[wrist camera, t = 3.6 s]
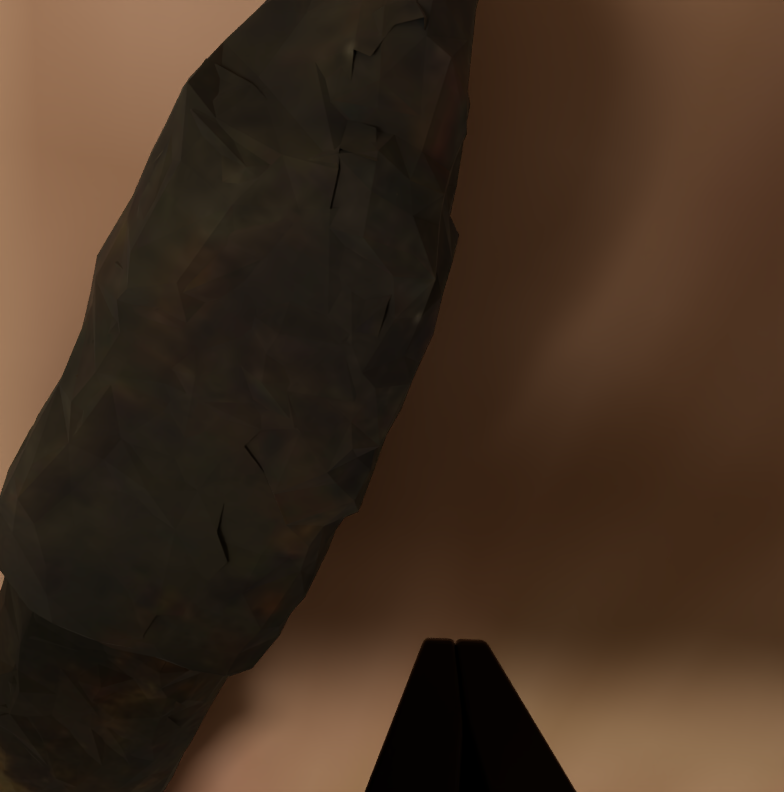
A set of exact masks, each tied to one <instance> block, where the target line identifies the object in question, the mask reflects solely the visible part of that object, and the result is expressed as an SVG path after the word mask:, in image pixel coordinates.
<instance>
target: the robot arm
mask: <svg viewBox="0 0 784 792" xmlns="http://www.w3.org/2000/svg"><path fill="white" fill-rule="evenodd" d="M365 792H576V790H575V789H574V787H573V785H572V784H571V782H570V780H569V779H568V777H567V775H566V774H565V772H564V770H563V769H562V767H561V765H560V764H559V762H558V760H557V759H556V757H555V755H554V754H553V752H552V750H551V749H550V747H549V745H548V744H547V742H546V740H545V739H544V737H543V735H542V734H541V732H540V730H539V729H538V727H537V725H536V724H535V722H534V720H533V719H532V717H531V715H530V714H529V712H528V710H527V709H526V707H525V705H524V703H523V702H522V700H521V698H520V697H519V695H518V693H517V692H516V690H515V688H514V687H513V685H512V683H511V682H510V680H509V678H508V677H507V675H506V673H505V672H504V670H503V668H502V667H501V665H500V663H499V662H498V660H497V658H496V657H495V655H494V653H493V652H492V650H491V648H490V647H489V645H488V644H487V643H486V642H485V641H483V640H471V639H459V640H457V641H456V642H455V643H454V641H453V640H451V639H446V638H427V639H425V640H424V641H423V643H422V646H421V648H420V651H419V653H418V656H417V658H416V661H415V664H414V666H413V669H412V671H411V674H410V676H409V679H408V682H407V684H406V687H405V689H404V692H403V694H402V697H401V700H400V702H399V705H398V707H397V710H396V713H395V715H394V718H393V720H392V723H391V725H390V728H389V731H388V733H387V736H386V738H385V741H384V743H383V746H382V749H381V751H380V754H379V756H378V759H377V761H376V764H375V767H374V769H373V772H372V774H371V777H370V779H369V782H368V785H367V787H366V790H365Z"/></svg>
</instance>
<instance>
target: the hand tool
mask: <svg viewBox="0 0 784 792" xmlns="http://www.w3.org/2000/svg"><path fill="white" fill-rule="evenodd" d="M477 3H478V0H266V1H265V3H264V4H263V5H262V6H261V7H260V8H259V9H257V10H256V11H255V12H254V13H253V14H252V15H251V16H250V17H249V18H248V19H247V20H246V21H245V22H244V23H243V24H242V25H241V26H240V27H238V28H237V29H236V30H235V31H234V32H233V33H232V34H231V35H230V36H229V37H228V38H227V39H226V40H225V41H224V42H223V43H222V44H221V45H220V46H219V47H218V48H217V49H216V50H215V51H214V52H213V53H212V54H211V55H210V56H209V58H208V59H205V61H204V62H203V63H202V65H201V66H200V67H199V68H198V69H197V70H196V71H195V72H194V73H193V74H192V75H191V76H190V78H189V79H188V81H187V82H186V84H185V85H184V86H183V88H182V90H181V93H180V95H179V97H178V99H177V101H176V103H175V105H174V107H173V110H172V112H171V114H170V116H169V118H168V120H167V122H166V124H165V126H164V128H163V130H162V132H161V134H160V136H159V138H158V140H157V142H156V144H155V146H154V148H153V150H152V152H151V154H150V156H149V159H148V161H147V163H146V166H145V168H144V171H143V173H142V175H141V178H140V180H139V182H138V185H137V187H136V189H135V192H134V194H133V196H132V198H131V200H130V201H129V203H128V205H127V206H126V208H125V210H124V211H123V213H122V215H121V216H120V218H119V220H118V221H117V223H116V225H115V226H114V228H113V230H112V232H111V233H110V235H109V237H108V238H107V240H106V242H105V243H104V245H103V247H102V248H101V250H100V252H99V253H98V255H97V260H96V265H95V271H94V276H93V282H92V287H91V292H90V297H89V301H88V305H87V310H86V314H85V318H84V323H83V327H82V330H81V332H80V334H79V337H78V339H77V342H76V344H75V346H74V349H73V351H72V354H71V356H70V358H69V361H68V363H67V366H66V368H65V370H64V373H63V375H62V377H61V379H60V381H59V382H58V384H57V385H56V387H55V389H54V390H53V392H52V393H51V395H50V397H49V398H48V400H47V401H46V403H45V405H44V406H43V408H42V409H41V411H40V413H39V414H38V416H37V418H36V421H35V423H34V425H33V426H32V428H31V429H30V431H29V433H28V435H27V436H26V438H25V440H24V442H23V444H22V446H21V447H20V449H19V451H18V453H17V455H16V457H15V459H14V460H13V462H12V464H11V466H10V468H9V470H8V472H7V476H6V479H5V482H4V485H3V488H2V491H1V495H0V571H1V572H2V573H3V575H4V576H5V577H4V581H3V585H2V588H1V591H0V792H163V791H164V790H165V788H166V787H167V785H168V783H169V782H170V780H171V778H172V777H173V775H174V773H175V771H176V768H177V766H178V764H179V762H180V760H181V758H182V755H183V753H184V752H185V750H186V749H187V747H188V746H189V744H190V743H191V741H192V739H193V737H194V735H195V733H196V732H197V730H198V728H199V726H200V724H201V722H202V720H203V718H204V716H205V715H206V713H207V711H208V709H209V707H210V706H211V704H212V702H213V701H214V699H215V697H216V696H217V694H218V692H219V691H220V689H221V687H222V686H223V684H224V682H225V681H226V679H227V678H228V676H231V675H234V674H237V673H240V672H243V671H246V670H249V669H252V668H253V667H254V665H255V664H256V663H257V662H258V661H259V659H260V658H261V657H262V656H263V654H264V653H265V652H266V651H267V650H268V648H269V647H270V646H271V645H272V644H273V642H274V641H275V640H276V639H277V638H278V636H279V635H280V633H281V631H282V629H283V627H284V625H285V623H286V621H287V619H288V617H289V615H290V613H291V612H292V611H293V610H294V609H295V608H296V607H297V605H298V604H299V603H300V602H301V601H302V600H303V599H304V598H305V596H306V594H307V592H308V590H309V588H310V586H311V584H312V582H313V579H314V577H315V575H316V573H317V571H318V569H319V567H320V565H321V563H322V561H323V559H324V557H325V555H326V553H327V551H328V548H329V546H330V543H331V540H332V538H333V535H334V533H335V530H336V529H337V527H338V526H339V524H340V523H341V522H342V520H343V519H344V518H345V517H346V516H349V515H351V514H354V513H356V512H358V511H359V509H360V506H361V503H362V500H363V498H364V495H365V492H366V490H367V487H368V484H369V481H370V479H371V476H372V473H373V471H374V468H375V465H376V462H377V460H378V457H379V454H380V451H381V448H382V446H383V443H384V440H385V437H386V435H387V433H388V431H389V429H390V428H391V426H392V424H393V422H394V421H395V419H396V417H397V415H398V414H399V412H400V410H401V408H402V405H403V403H404V400H405V398H406V395H407V392H408V390H409V387H410V385H411V382H412V380H413V378H414V375H415V373H416V371H417V368H418V366H419V364H420V361H421V359H422V357H423V355H424V353H425V351H426V349H427V346H428V344H429V342H430V340H431V338H432V336H433V333H434V329H435V325H436V320H437V316H438V312H439V307H440V303H441V299H442V295H443V291H444V288H445V285H446V281H447V278H448V275H449V271H450V268H451V264H452V261H453V257H454V253H455V249H456V245H457V241H458V237H459V234H458V232H457V230H456V228H455V225H454V223H453V221H452V219H451V217H450V213H451V209H452V204H453V199H454V195H455V190H456V185H457V179H458V173H459V166H460V160H461V154H462V147H463V141H464V139H465V137H466V135H467V118H468V113H469V108H470V101H469V96H468V81H469V71H470V62H471V52H472V42H473V32H474V22H475V12H476V7H477Z"/></svg>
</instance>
